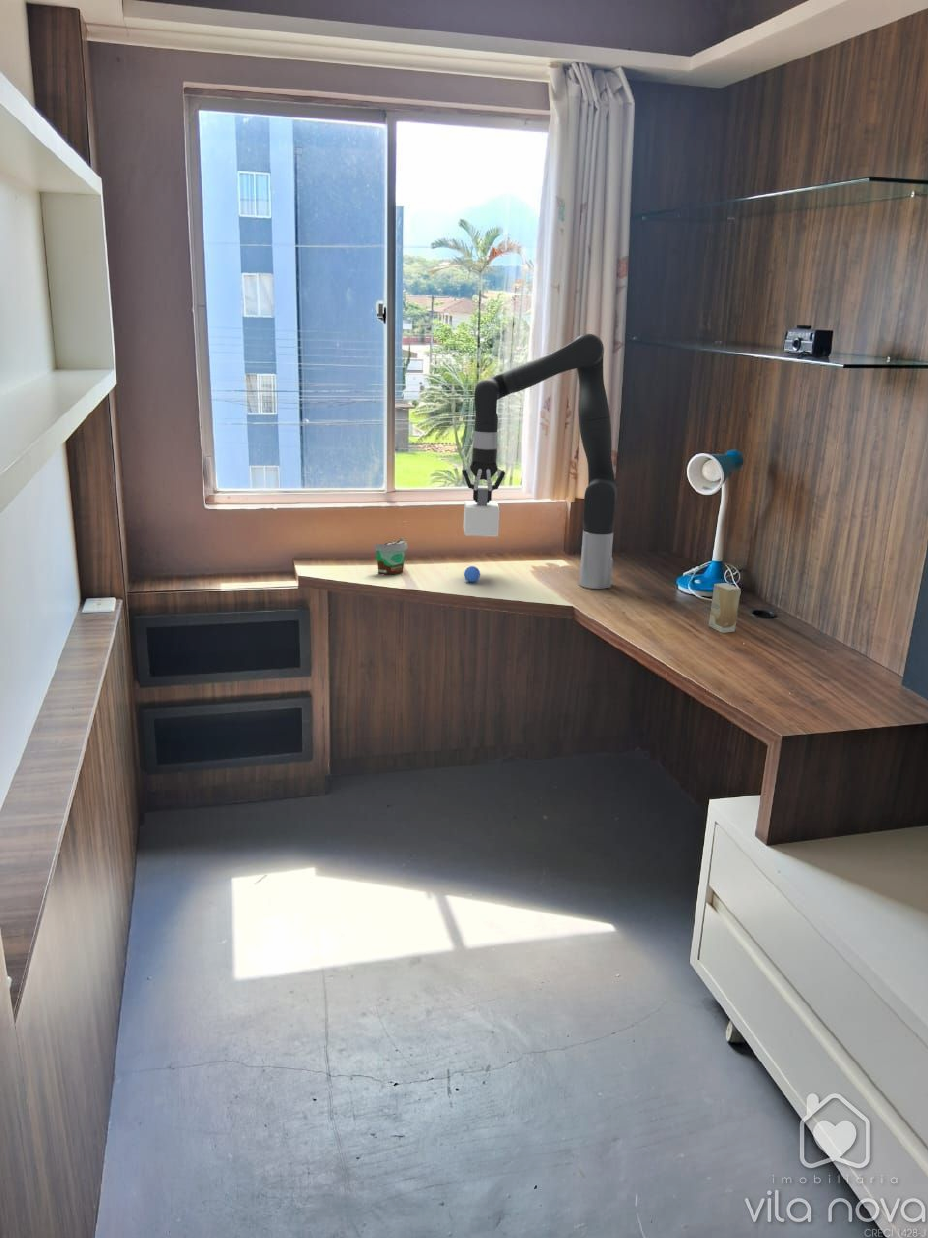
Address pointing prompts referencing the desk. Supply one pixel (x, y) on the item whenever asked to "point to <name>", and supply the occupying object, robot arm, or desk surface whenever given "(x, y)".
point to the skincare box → (724, 607)
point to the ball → (472, 574)
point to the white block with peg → (481, 516)
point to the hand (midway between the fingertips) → (481, 501)
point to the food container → (391, 557)
